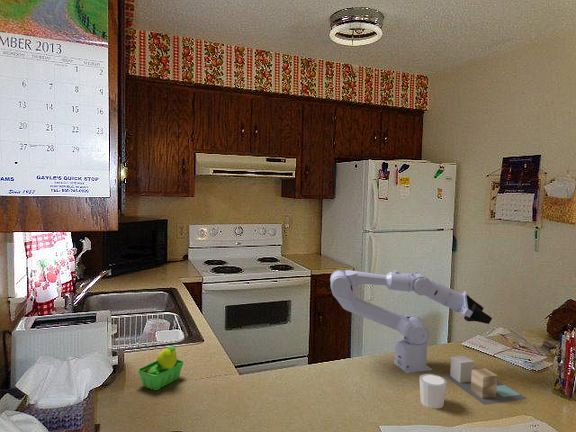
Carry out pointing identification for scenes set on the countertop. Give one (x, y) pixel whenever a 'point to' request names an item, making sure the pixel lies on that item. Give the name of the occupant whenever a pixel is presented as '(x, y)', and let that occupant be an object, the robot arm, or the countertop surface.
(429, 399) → the white tapered cylinder
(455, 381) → the mat
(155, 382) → the fruit basket
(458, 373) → the grey block
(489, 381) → the maple block
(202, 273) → the countertop surface
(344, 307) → the robot arm
